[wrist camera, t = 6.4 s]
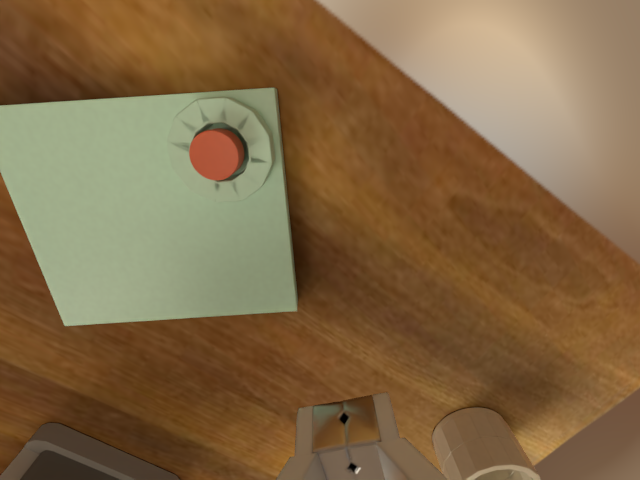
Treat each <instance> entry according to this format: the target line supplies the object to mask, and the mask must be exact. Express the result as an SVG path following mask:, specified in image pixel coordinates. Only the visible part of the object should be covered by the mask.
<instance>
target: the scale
mask: <svg viewBox="0 0 640 480" xmlns="http://www.w3.org/2000/svg"><path fill="white" fill-rule="evenodd" d="M216 128H222V129H227V130H229V131H231V132H233V133H234V134H235V135H236V136H237V137H238V138H239V139H240V141H241V142H242V144H243V147H244V153H245V155H244V161H243V163H242V165H241V167H240V168H239V169H238V170H237V171H236V172H235V173H233V174H232V175H231V176H230V177H228V178H226V179H224V180H210V179H207V178H205V177H203V176H202V175H200V174H199V173H198V172H197V171H196V170H195V168H194V167H193V165H192V163H191V161H190V157H189V148H190V144H191V142H192V140H193V139H194V138H195V137H196V136H197V135H198V134H199V133H201V132H203V131H207V130H211V129H216ZM0 172H1V174H2V177H3V179H4V181H5V184H6V186H7V189H8V191H9V193H10V196H11V198H12V201H13V203H14V205H15V208H16V210H17V213H18V215H19V217H20V220H21V222H22V225H23V227H24V230H25V232H26V234H27V237H28V239H29V242H30V244H31V246H32V249H33V251H34V254H35V256H36V258H37V261H38V263H39V266H40V268H41V270H42V273H43V275H44V278H45V280H46V282H47V285H48V287H49V290H50V292H51V294H52V297H53V299H54V302H55V304H56V306H57V309H58V311H59V314H60V316H61V318H62V321H63V323H64V326H75V325H90V324H105V323H121V322H136V321H151V320H166V319H182V318H197V317H212V316H228V315H243V314H258V313H274V312H289V311H297V306H298V296H297V286H296V276H295V266H294V255H293V245H292V235H291V225H290V215H289V205H288V195H287V185H286V175H285V165H284V155H283V145H282V135H281V124H280V114H279V104H278V94H277V89H276V88H259V89H244V90H228V91H213V92H198V93H182V94H167V95H152V96H137V97H121V98H106V99H91V100H76V101H60V102H45V103H30V104H14V105H0Z"/></svg>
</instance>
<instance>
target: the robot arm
mask: <svg viewBox="0 0 640 480" xmlns="http://www.w3.org/2000/svg"><path fill="white" fill-rule="evenodd" d="M276 480H448V479H447V478H446V477H445V476H444V475H443V474H442V473H441V472H440V471H439V470H438V469H437V468H436V467H435V466H434V465H433V464H432V463H431V462H430V461H428V460H427V459H426V458H425V457H424V456H423V455H422V454H421V453H420V452H419V451H418V450H417V449H416V448H415V447H414V446H413V445H412V444H411V443H410V442H409V441H408V440H407V439H406V438H400V437H399V433H398V429H397V425H396V421H395V417H394V413H393V409H392V405H391V401H390V397H389V394H388V392H386V393H380V394H375V395H373V396H372V395H369V396H364V397H358V398H353V399H348V400H343V401H340V402H333V403H327V404H320V405H314V406H308V407H302V408H299V409H298V412H297V425H296V441H295V456H294V457H290V458H289V460H288V461H287V463H286V464H285V466H284V468H283V469H282V471H281V472H280V474H279V475H278V477H277V478H276Z"/></svg>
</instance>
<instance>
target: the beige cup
mask: <svg viewBox="0 0 640 480" xmlns="http://www.w3.org/2000/svg"><path fill="white" fill-rule="evenodd" d="M432 442H433V446H434V450H435V453H436V456H437V458H438V461H439V464H440V467H441V470H442V472H443V475H444V476H445V477H446V478H447V479H448V480H541V479H540V476H539V474H538V473H537V471H536V470H535V468H534V466H533V465H532V463H531V461H530V460H529V458H528V457H527V455H526V453H525V452H524V450H523V448H522V447H521V445H520V444H519V442H518V440H517V439H516V437H515V435H514V434H513V432H512V431H511V429H510V427H509V426H508V424H507V423H506V422H505V420H504V419H503V418H502V416H500V415H499V414H498V413H497V412H495V411H493V410H490V409H487V408H480V407H473V408H466V409H462V410H458V411H456V412H453V413H452V414H450V415H448V416H447V417H445V418H444V419H443V420H441V421H440V422H439V424H438V425H437V426H436V428H435V430H434V432H433V436H432Z"/></svg>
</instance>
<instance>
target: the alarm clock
mask: <svg viewBox="0 0 640 480" xmlns="http://www.w3.org/2000/svg"><path fill="white" fill-rule="evenodd" d="M0 480H180V479H179V478H178V477H177V475H175V474H172V473H170V472H168V471H166V470H163V469H161V468H159V467H157V466H154V465H152V464H150V463H147V462H145V461H143V460H141V459H138V458H136V457H134V456H132V455H129V454H127V453H125V452H123V451H120V450H118V449H116V448H114V447H111V446H109V445H107V444H105V443H102V442H100V441H98V440H96V439H93V438H91V437H89V436H86V435H84V434H82V433H80V432H77V431H75V430H73V429H71V428H68V427H66V426H64V425H62V424H59V423H47V424H44V425H42V426H41V427H40V428H39V429H38V430H37V432H36V433H35V434H34V435H33V436H32V438H31V439H30V440H29V441H28V442H27V444H26V445H25V447H24V448H23V449H22V450H21V452H20V453H19V454H18V455H17V456H16V458H15V459H14V460H13V461H12V462H11V464H10V465H9V466H8V467H7V468H6V469H5V471H4V472H3V473H2V474H1V475H0Z"/></svg>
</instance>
